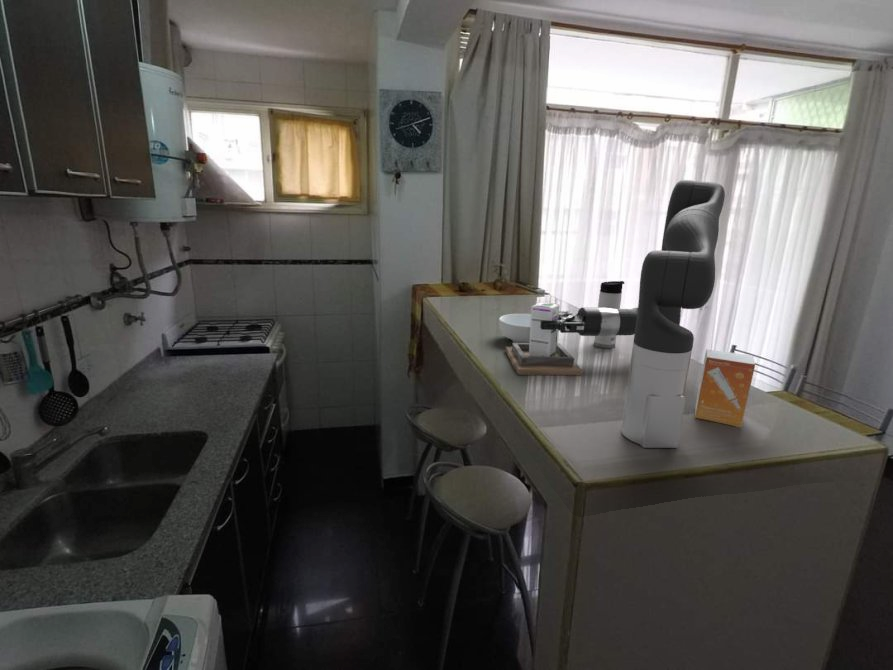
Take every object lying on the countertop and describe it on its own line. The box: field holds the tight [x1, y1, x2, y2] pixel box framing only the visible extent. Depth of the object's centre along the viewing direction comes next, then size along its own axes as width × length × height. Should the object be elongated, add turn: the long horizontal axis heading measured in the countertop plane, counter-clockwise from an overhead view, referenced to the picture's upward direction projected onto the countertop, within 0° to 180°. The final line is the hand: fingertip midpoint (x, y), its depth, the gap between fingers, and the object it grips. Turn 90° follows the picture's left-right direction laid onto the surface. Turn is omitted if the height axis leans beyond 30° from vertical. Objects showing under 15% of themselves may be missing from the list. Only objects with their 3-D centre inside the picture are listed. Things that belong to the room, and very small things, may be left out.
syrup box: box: [529, 301, 560, 357], centre depth 119 cm, size 6×6×14 cm
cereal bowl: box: [498, 313, 531, 343], centre depth 141 cm, size 17×17×7 cm
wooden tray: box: [505, 342, 583, 376], centre depth 121 cm, size 19×16×4 cm
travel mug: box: [593, 280, 625, 349], centre depth 136 cm, size 6×7×20 cm
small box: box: [694, 349, 756, 428], centre depth 89 cm, size 8×6×13 cm
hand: (537, 321), depth 118 cm, fingers open, 8 cm apart
